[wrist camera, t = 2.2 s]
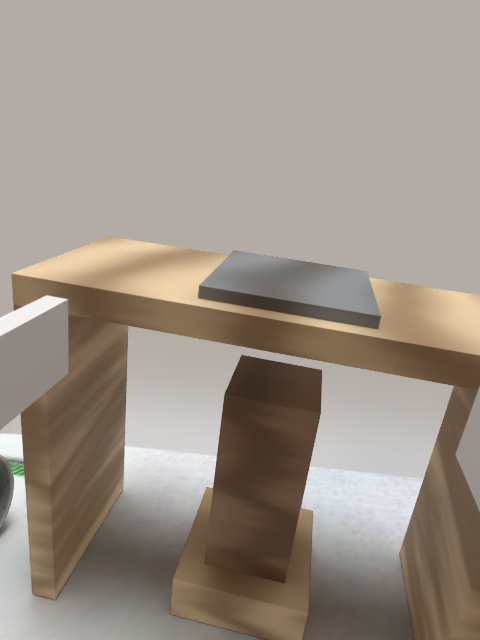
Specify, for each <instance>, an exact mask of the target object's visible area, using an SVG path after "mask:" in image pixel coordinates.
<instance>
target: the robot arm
mask: <svg viewBox="0 0 480 640" xmlns="http://www.w3.org/2000/svg"><path fill="white" fill-rule="evenodd" d="M68 373H69V372H68V299H64V298H58V297H53V296H48V295H46V296H44V297H42V298H40V299H38V300H36V301H34V302H32V303H30V304H28V305H26V306H24V307H22V308H19V309H17V310H15V311H13V312H12V313H9V314H7V315H5V316H3V317H1V318H0V430H1V429H2V428H3V427H4V426H6V425H7V424H8V423H9V422H10V421H12V420H13V419H14V418H15V417H16V416H18V415H19V414H20V413H21V412H23V411H24V410H25V409H26V408H27V407H29V406H30V405H31V404H32V403H33V402H35V401H36V400H37V399H38V398H39V397H41V396H42V395H43V394H44V393H46V392H47V391H48V390H49V389H50V388H52V387H53V386H54V385H55V384H56V383H58V382H59V381H60V380H61V379H62V378H64V377H65V376H66V375H67V374H68ZM455 455H456V457H457V460H458V462H459V464H460V467H461V469H462V471H463V474H464V476H465V478H466V481H467V483H468V485H469V488H470V490H471V492H472V495H473V497H474V499H475V502H476V504H477V506H478V509H479V511H480V387H479V390H478V392H477V395H476V398H475V401H474V404H473V407H472V409H471V412H470V415H469V418H468V421H467V423H466V426H465V429H464V432H463V435H462V438H461V440H460V443H459V446H458V449H457V452H456V454H455Z"/></svg>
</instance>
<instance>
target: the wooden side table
mask: <svg viewBox="0 0 480 640" xmlns="http://www.w3.org/2000/svg"><path fill="white" fill-rule="evenodd" d="M12 288H13V303H14V311H15V310H17V309H19V308H22V307H24V306H26V305H28V304H30V303H32V302H34V301H36V300H38V299H40V298H42V297H44V296H46V295H48V296H53V297H58V298H64V299H68V372H69V373H68V374H67V375H66V376H65V377H64V378H62V379H61V380H60V381H59V382H58V383H56V384H55V385H54V386H53V387H52V388H50V389H49V390H48V391H47V392H46V393H44V394H43V395H42V396H41V397H39V398H38V399H37V400H36V401H35V402H33V403H32V404H31V405H30V406H29V407H27V408H26V409H25V410H24V411H23V412H21V426H22V442H23V457H24V472H25V488H26V503H27V518H28V533H29V549H30V564H31V579H32V594H34V595H38V596H42V597H45V598H49V599H53V600H55V599H56V598H57V596H58V594H59V593H60V591H61V590H62V588H63V586H64V585H65V583H66V581H67V580H68V578H69V576H70V575H71V573H72V572H73V570H74V568H75V567H76V565H77V563H78V562H79V560H80V559H81V557H82V555H83V554H84V552H85V550H86V549H87V547H88V546H89V544H90V542H91V541H92V539H93V537H94V536H95V534H96V532H97V531H98V529H99V528H100V526H101V524H102V523H103V521H104V519H105V518H106V516H107V515H108V513H109V511H110V510H111V508H112V506H113V505H114V503H115V502H116V500H117V498H118V497H119V495H120V493H121V492H122V490H123V477H124V445H125V413H126V411H125V410H126V380H127V349H128V326H133V327H139V328H144V329H150V330H155V331H161V332H166V333H172V334H178V335H183V336H188V337H193V338H198V339H204V340H210V341H215V342H220V343H226V344H231V345H236V346H242V347H247V348H253V349H258V350H264V351H269V352H274V353H280V354H285V355H291V356H296V357H302V358H307V359H313V360H318V361H323V362H329V363H334V364H340V365H345V366H350V367H356V368H361V369H367V370H373V371H378V372H383V373H388V374H394V375H400V376H404V377H410V378H415V379H421V380H426V381H432V382H437V383H443V384H448V385H453V386H454V388H453V391H452V394H451V397H450V400H449V403H448V406H447V409H446V412H445V415H444V418H443V422H442V424H441V428H440V431H439V434H438V437H437V440H436V443H435V446H434V449H433V452H432V455H431V458H430V461H429V464H428V467H427V471H426V473H425V477H424V480H423V483H422V486H421V489H420V492H419V495H418V498H417V501H416V504H415V507H414V510H413V513H412V516H411V519H410V523H409V526H408V529H407V532H406V535H405V538H404V541H403V544H402V547H401V550H400V553H399V554H400V560H401V566H402V571H403V577H404V583H405V588H406V594H407V600H408V606H409V611H410V617H411V623H412V628H413V634H414V640H480V511H479V509H478V506H477V504H476V502H475V499H474V497H473V495H472V492H471V490H470V488H469V485H468V483H467V481H466V478H465V476H464V474H463V471H462V469H461V467H460V464H459V462H458V460H457V457H456V455H455V454H456V452H457V449H458V446H459V443H460V440H461V438H462V435H463V432H464V429H465V426H466V423H467V421H468V418H469V415H470V412H471V409H472V407H473V404H474V401H475V398H476V395H477V392H478V390H479V387H480V295H474V294H468V293H462V292H455V291H448V290H443V289H437V288H430V287H424V286H418V285H411V284H405V283H398V282H392V281H386V280H380V279H374V278H369V276H368V273H367V271H361V270H355V269H349V268H343V267H336V266H330V265H324V264H317V263H311V262H305V261H298V260H291V259H285V258H279V257H273V256H267V255H260V254H253V253H247V252H241V251H235V250H234V251H233V252H232V253H231V254H230V255H223V254H216V253H210V252H204V251H198V250H191V249H185V248H179V247H173V246H166V245H159V244H154V243H147V242H141V241H135V240H129V239H122V238H116V237H106V238H104V239H101V240H99V241H96V242H93V243H91V244H88V245H85V246H83V247H80V248H77V249H75V250H72V251H70V252H67V253H64V254H62V255H59V256H56V257H54V258H51V259H48V260H46V261H43V262H40V263H38V264H35V265H32V266H30V267H27V268H24V269H22V270H19V271H17V272H14V273H12ZM212 494H213V488H209V487H207V488H206V490H205V493H204V496H203V498H202V501H201V504H200V507H199V509H198V512H197V515H196V517H195V520H194V523H193V526H192V528H191V531H190V534H189V537H188V539H187V542H186V545H185V547H184V550H183V553H182V556H181V558H180V561H179V564H178V566H177V569H176V572H175V575H174V577H173V585H172V596H171V607H170V614H172V615H175V616H179V617H183V618H187V619H190V620H194V621H198V622H202V623H205V624H209V625H213V626H217V627H220V628H224V629H228V630H232V631H235V632H239V633H243V634H247V635H250V636H254V637H258V638H262V639H266V640H302V637H303V633H304V629H305V625H306V621H307V617H308V612H309V590H310V568H311V546H312V524H313V511H310V510H306V509H302V508H301V509H300V513H299V518H298V523H297V528H296V532H295V537H294V542H293V546H292V551H291V556H290V561H289V565H288V570H287V575H286V580H285V584H284V583H280V582H276V581H272V580H268V579H264V578H260V577H256V576H252V575H248V574H244V573H240V572H236V571H232V570H228V569H224V568H220V567H216V566H212V565H208V564H204V561H205V552H206V544H207V536H208V527H209V519H210V511H211V503H212Z"/></svg>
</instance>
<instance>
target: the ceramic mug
mask: <svg viewBox="0 0 480 640" xmlns="http://www.w3.org/2000/svg"><path fill="white" fill-rule="evenodd" d="M13 489H14V477H13V472H12V469H11V466H10V464H9V463H8V461H7V460H6V459H5V458H4V457H3V456H2V455H0V528H1V526H2V524H3V522H4V520H5V518H6V516H7V514H8V511H9V508H10V505H11V501H12V497H13Z"/></svg>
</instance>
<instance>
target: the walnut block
mask: <svg viewBox="0 0 480 640" xmlns="http://www.w3.org/2000/svg"><path fill="white" fill-rule="evenodd" d="M321 385H322V370H318V369H313V368H308V367H303V366H297V365H292V364H287V363H281V362H276V361H271V360H265V359H260V358H254V357H249V356H244V355H242V356H241V358H240V360H239V362H238V365H237V367H236V369H235V371H234V374H233V376H232V379H231V381H230V383H229V385H228V388H227V390H226V392H225V396H224V403H223V412H222V420H221V429H220V436H219V445H218V453H217V461H216V469H215V478H214V486H213V494H212V503H211V511H210V519H209V527H208V536H207V544H206V552H205V561H204V564H208V565H212V566H216V567H220V568H224V569H228V570H232V571H236V572H240V573H244V574H248V575H252V576H256V577H260V578H264V579H268V580H272V581H276V582H280V583H284V584H285V580H286V575H287V570H288V565H289V561H290V556H291V551H292V546H293V542H294V537H295V532H296V528H297V523H298V518H299V513H300V509H301V504H302V499H303V494H304V490H305V485H306V480H307V475H308V471H309V466H310V461H311V456H312V452H313V447H314V442H315V438H316V433H317V428H318V423H319V419H320V414H321V387H322V386H321Z"/></svg>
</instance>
